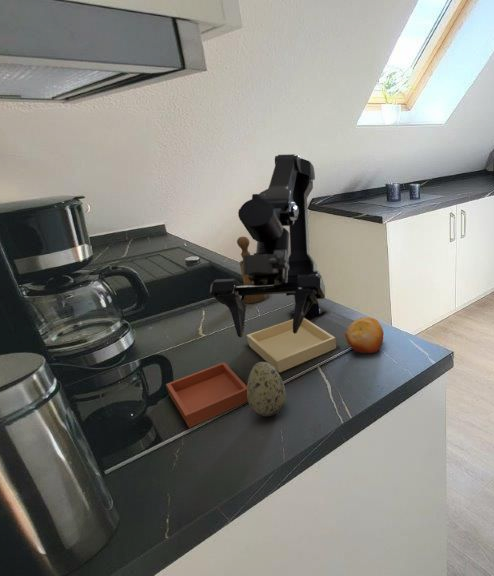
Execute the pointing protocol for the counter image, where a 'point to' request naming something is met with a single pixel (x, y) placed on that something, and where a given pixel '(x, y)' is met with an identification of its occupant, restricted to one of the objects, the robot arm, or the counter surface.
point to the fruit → (365, 335)
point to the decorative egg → (265, 390)
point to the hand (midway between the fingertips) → (267, 334)
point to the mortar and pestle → (243, 244)
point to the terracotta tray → (207, 393)
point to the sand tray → (291, 344)
